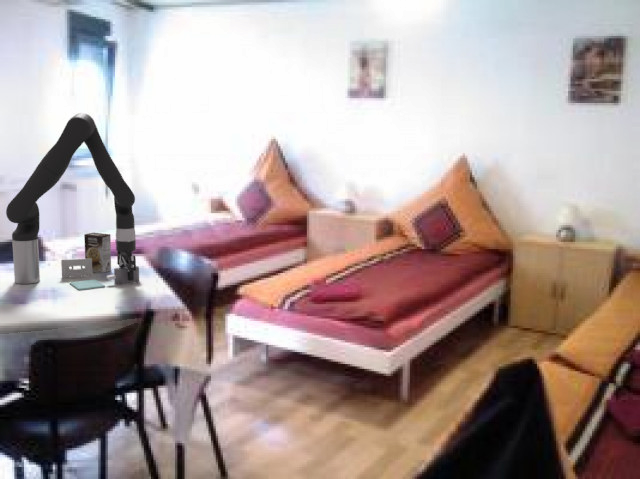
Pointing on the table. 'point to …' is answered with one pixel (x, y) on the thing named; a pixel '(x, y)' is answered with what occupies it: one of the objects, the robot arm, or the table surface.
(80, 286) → the teal rubber mat
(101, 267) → the coffee box
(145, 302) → the table surface
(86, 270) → the cassette
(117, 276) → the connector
